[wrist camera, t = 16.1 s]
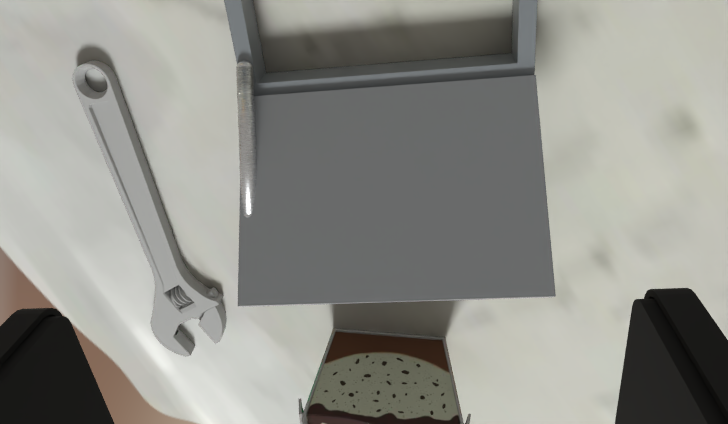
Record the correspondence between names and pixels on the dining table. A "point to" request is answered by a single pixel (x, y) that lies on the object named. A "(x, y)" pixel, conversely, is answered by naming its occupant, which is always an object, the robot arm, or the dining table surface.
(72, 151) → the dining table surface
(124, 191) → the adjustable wrench
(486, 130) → the equipment case
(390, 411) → the food container
